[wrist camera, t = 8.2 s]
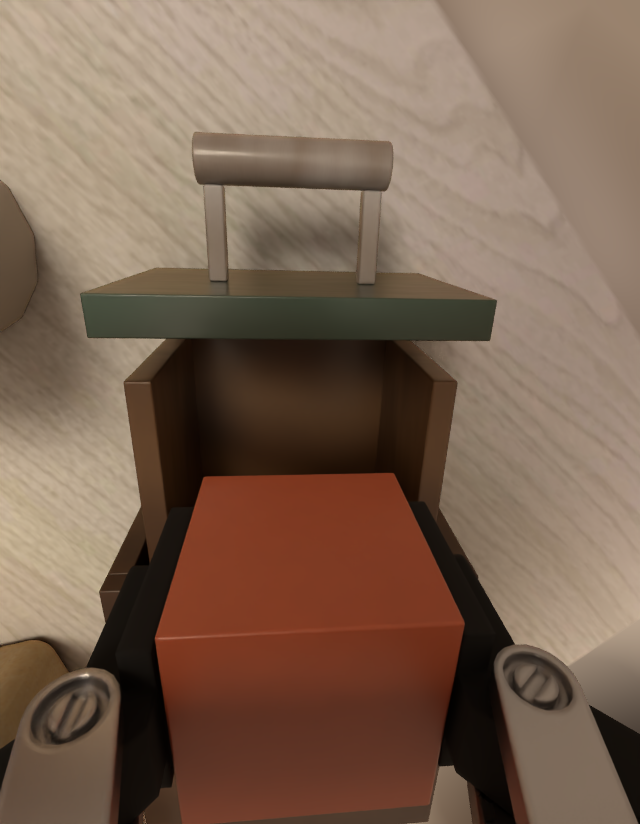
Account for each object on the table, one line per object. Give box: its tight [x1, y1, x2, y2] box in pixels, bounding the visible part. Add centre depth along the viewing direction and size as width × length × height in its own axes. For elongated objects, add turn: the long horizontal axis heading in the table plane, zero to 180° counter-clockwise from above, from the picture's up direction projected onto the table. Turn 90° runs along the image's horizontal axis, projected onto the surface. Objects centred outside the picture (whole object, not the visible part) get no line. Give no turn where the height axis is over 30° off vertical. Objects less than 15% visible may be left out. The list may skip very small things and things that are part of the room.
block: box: [155, 473, 465, 824], centre depth 9 cm, size 4×4×4 cm
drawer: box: [80, 132, 497, 562], centre depth 18 cm, size 18×11×8 cm, turn 178°
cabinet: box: [99, 507, 478, 824], centre depth 22 cm, size 15×13×10 cm
